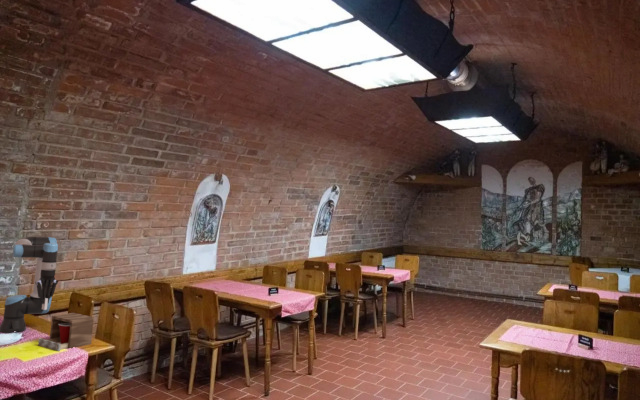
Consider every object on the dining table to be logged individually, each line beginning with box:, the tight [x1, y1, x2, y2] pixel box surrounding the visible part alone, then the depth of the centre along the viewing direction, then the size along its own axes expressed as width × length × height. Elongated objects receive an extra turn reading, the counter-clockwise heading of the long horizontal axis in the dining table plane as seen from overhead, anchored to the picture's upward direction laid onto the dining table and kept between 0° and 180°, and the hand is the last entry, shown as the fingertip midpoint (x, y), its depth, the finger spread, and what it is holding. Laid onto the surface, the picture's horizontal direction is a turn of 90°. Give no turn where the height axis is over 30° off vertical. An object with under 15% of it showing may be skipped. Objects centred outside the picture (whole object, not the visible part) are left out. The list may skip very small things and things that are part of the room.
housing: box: [49, 312, 94, 349], centre depth 285 cm, size 20×14×17 cm
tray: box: [37, 337, 69, 352], centre depth 281 cm, size 20×20×4 cm
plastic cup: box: [58, 323, 70, 344], centre depth 283 cm, size 11×11×12 cm
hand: (44, 309), depth 269 cm, fingers closed
